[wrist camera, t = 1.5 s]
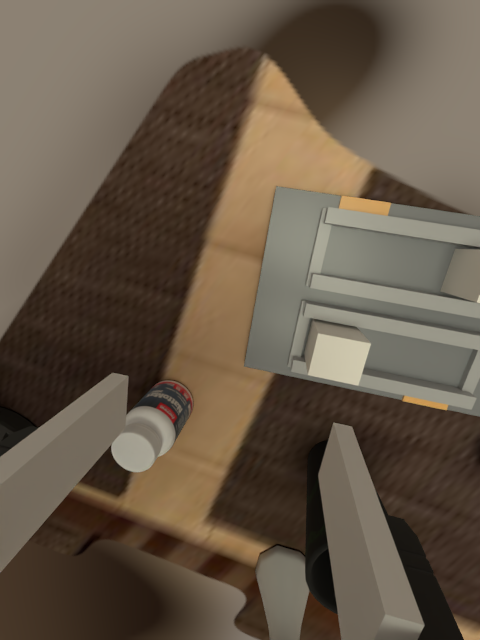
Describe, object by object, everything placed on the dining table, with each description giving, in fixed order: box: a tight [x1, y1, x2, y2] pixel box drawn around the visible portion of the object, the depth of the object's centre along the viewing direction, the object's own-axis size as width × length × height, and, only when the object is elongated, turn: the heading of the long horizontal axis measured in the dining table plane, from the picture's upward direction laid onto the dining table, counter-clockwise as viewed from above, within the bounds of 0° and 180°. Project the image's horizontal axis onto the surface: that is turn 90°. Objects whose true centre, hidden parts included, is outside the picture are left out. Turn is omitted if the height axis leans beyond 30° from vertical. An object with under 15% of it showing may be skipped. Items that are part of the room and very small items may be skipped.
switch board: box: [244, 186, 480, 416], centre depth 26 cm, size 25×17×3 cm
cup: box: [305, 440, 388, 614], centre depth 27 cm, size 8×8×12 cm
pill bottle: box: [111, 380, 193, 472], centre depth 29 cm, size 5×5×9 cm
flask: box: [255, 546, 309, 640], centre depth 32 cm, size 7×7×10 cm
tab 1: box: [304, 318, 371, 386], centre depth 25 cm, size 4×4×5 cm
